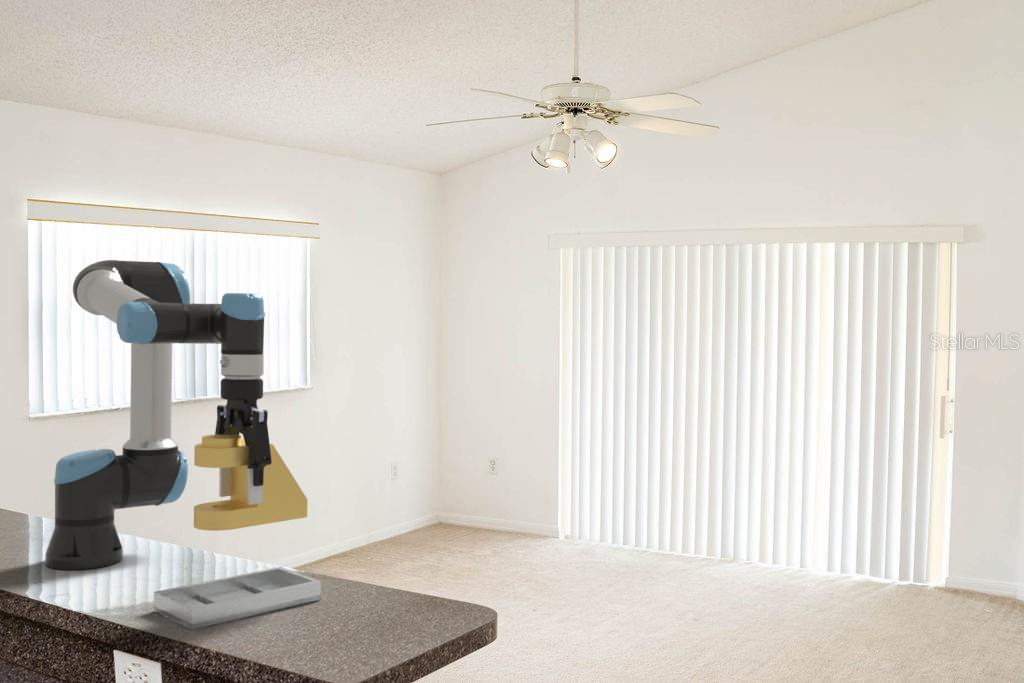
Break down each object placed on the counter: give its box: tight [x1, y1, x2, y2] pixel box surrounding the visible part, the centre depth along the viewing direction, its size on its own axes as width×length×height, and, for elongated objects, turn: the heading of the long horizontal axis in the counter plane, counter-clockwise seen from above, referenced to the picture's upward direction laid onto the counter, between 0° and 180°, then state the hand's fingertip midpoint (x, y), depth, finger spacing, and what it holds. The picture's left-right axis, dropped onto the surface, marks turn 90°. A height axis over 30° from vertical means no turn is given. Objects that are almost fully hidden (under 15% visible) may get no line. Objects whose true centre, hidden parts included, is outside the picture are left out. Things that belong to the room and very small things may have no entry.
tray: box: [153, 566, 322, 631], centre depth 176 cm, size 14×26×4 cm, turn 136°
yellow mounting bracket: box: [193, 434, 308, 532], centre depth 177 cm, size 20×9×16 cm, turn 137°
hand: (240, 499), depth 176 cm, fingers closed on yellow mounting bracket, 9 cm apart
